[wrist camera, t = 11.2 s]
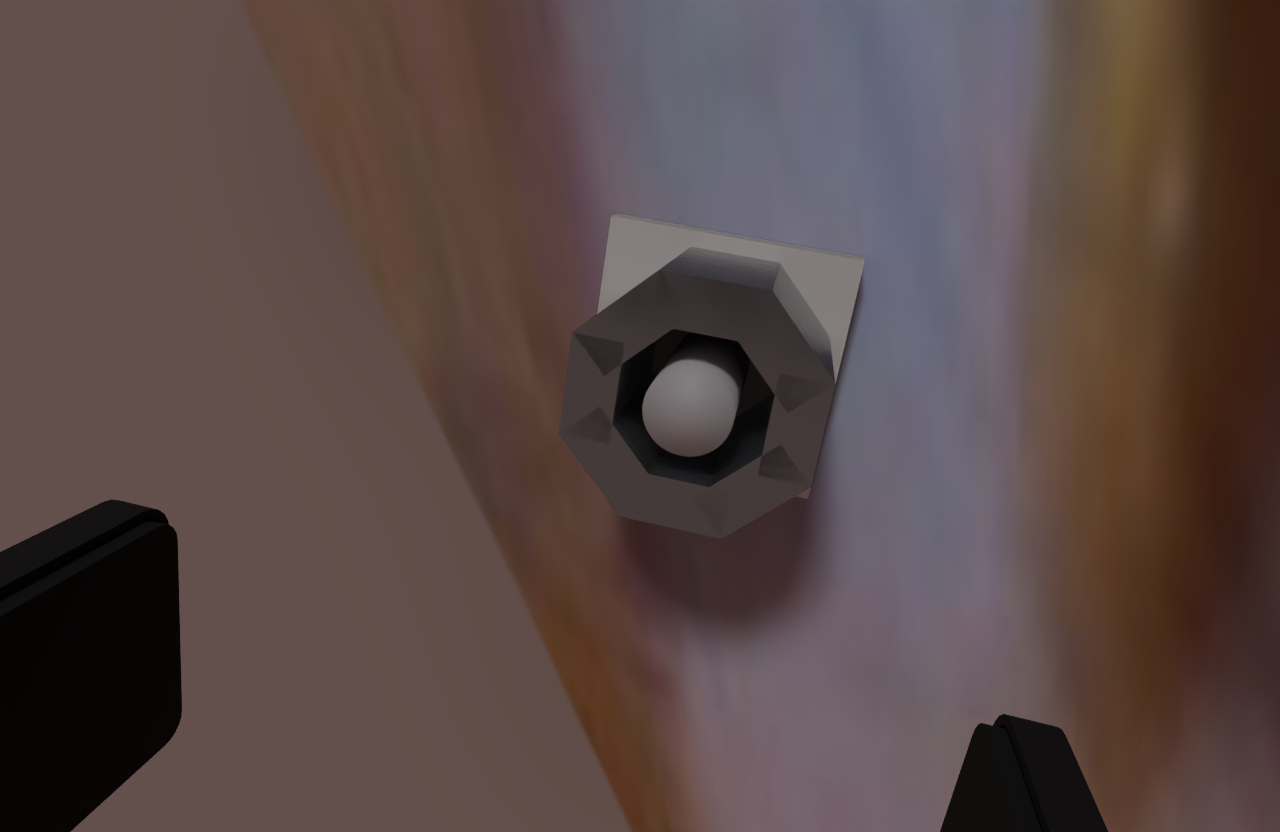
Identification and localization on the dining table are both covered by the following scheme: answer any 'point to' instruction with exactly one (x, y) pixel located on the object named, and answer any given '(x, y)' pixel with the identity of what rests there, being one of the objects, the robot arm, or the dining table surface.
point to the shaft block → (706, 365)
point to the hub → (760, 437)
